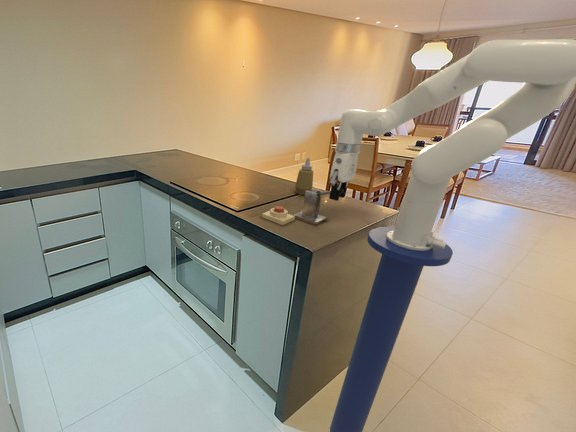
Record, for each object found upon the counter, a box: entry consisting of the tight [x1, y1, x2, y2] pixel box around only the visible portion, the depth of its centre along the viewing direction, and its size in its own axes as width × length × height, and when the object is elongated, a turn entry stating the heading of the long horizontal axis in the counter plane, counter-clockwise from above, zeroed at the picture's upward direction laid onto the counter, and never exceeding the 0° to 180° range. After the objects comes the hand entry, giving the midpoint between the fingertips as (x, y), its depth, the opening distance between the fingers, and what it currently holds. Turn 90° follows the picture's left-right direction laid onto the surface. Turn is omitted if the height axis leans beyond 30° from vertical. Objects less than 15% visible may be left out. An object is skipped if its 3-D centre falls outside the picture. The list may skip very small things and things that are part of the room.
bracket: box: [292, 188, 327, 226], centre depth 117 cm, size 10×8×12 cm
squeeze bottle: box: [294, 157, 314, 196], centre depth 144 cm, size 8×8×18 cm
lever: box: [315, 187, 343, 198], centre depth 111 cm, size 13×3×3 cm, turn 39°
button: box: [274, 205, 285, 213], centre depth 117 cm, size 4×4×2 cm
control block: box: [261, 207, 296, 226], centre depth 118 cm, size 10×8×4 cm
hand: (337, 197), depth 108 cm, fingers open, 4 cm apart
